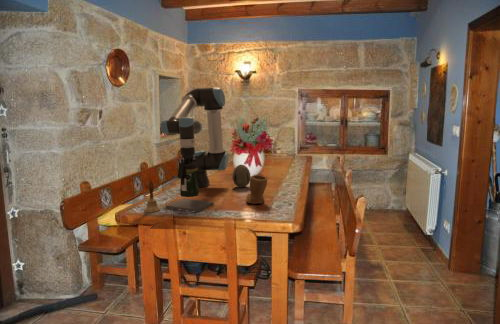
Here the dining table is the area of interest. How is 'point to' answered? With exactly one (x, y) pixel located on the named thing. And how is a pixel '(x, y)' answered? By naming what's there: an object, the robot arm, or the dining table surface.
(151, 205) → the hand bell
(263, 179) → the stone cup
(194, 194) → the coffee jar
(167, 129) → the robot arm
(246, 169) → the decorative egg
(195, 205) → the plate
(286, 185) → the dining table surface
